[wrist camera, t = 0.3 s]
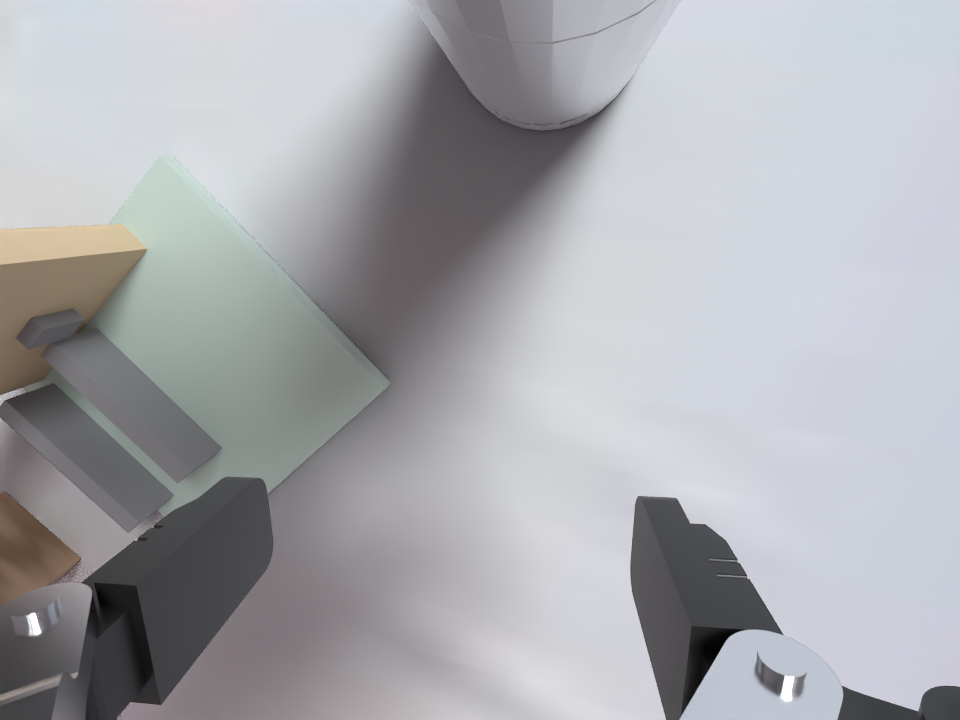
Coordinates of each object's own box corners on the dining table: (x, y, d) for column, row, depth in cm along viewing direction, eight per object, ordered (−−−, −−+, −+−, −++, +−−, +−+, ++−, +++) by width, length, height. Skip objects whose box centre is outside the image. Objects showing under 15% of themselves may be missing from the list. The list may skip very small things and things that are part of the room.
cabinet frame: (391, 382, 30) (266, 522, 17) (213, 541, 35) (11, 743, 22) (175, 157, 28) (-164, 113, 15) (19, 361, 33) (-336, 466, 20)
